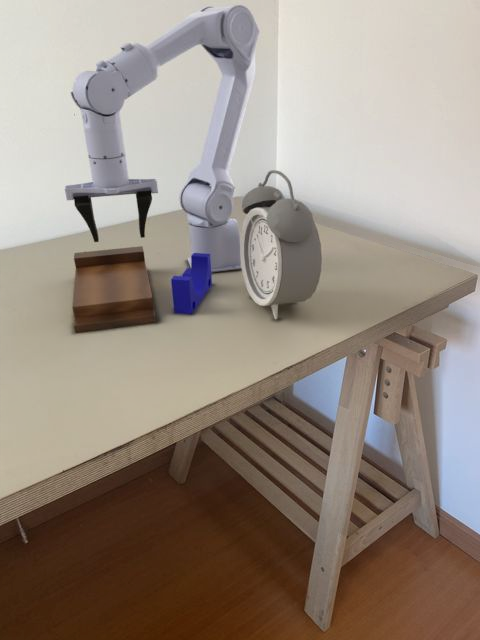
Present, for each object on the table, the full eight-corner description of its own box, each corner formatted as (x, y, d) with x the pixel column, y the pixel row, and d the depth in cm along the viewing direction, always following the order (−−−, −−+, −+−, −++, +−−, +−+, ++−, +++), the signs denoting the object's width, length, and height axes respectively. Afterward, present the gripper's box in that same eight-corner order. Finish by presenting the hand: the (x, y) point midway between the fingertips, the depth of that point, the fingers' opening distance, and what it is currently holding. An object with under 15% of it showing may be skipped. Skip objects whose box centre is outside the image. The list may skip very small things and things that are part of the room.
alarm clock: (237, 291, 99) (231, 163, 88) (281, 282, 102) (281, 158, 91) (275, 331, 86) (274, 187, 75) (325, 320, 89) (331, 180, 78)
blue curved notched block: (188, 283, 103) (185, 252, 100) (212, 285, 102) (210, 253, 99) (165, 312, 92) (162, 278, 89) (191, 314, 92) (188, 280, 89)
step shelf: (145, 269, 109) (142, 246, 106) (156, 322, 89) (152, 294, 87) (79, 276, 106) (74, 252, 104) (75, 332, 87) (69, 304, 84)
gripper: (57, 163, 84) (74, 250, 91) (155, 157, 87) (164, 241, 94) (60, 154, 90) (76, 236, 97) (151, 148, 93) (160, 228, 100)
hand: (119, 238), depth 96 cm, fingers open, 7 cm apart
